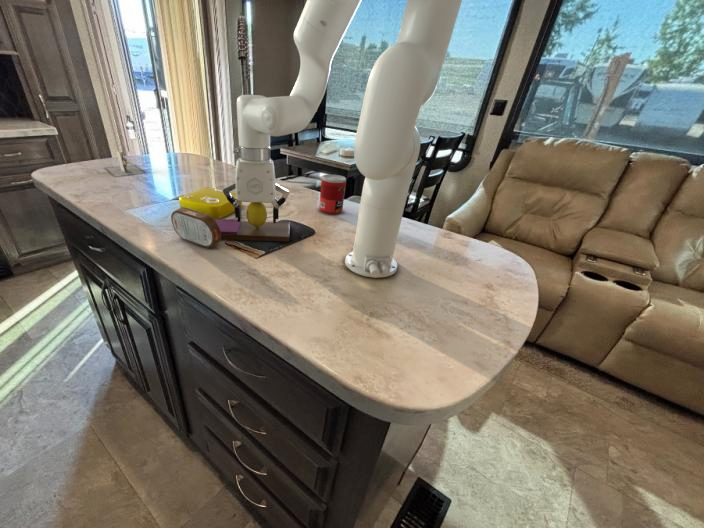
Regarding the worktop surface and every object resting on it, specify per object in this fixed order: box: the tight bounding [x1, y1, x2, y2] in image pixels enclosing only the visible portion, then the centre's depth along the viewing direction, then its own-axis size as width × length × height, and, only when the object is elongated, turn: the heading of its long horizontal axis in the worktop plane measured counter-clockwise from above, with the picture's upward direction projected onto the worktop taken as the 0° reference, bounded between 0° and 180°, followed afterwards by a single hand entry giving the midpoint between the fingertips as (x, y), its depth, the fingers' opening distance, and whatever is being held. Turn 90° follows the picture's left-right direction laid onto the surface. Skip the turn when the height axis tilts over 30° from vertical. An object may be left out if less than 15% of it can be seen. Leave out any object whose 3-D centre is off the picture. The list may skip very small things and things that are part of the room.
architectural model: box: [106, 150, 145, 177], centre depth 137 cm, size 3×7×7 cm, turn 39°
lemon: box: [246, 202, 268, 228], centre depth 89 cm, size 6×6×8 cm
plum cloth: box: [216, 218, 242, 234], centre depth 91 cm, size 9×7×1 cm
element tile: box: [178, 186, 243, 220], centre depth 105 cm, size 15×15×5 cm
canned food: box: [318, 173, 347, 216], centre depth 108 cm, size 8×8×11 cm
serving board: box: [215, 220, 290, 243], centre depth 92 cm, size 10×22×2 cm, turn 92°
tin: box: [170, 207, 222, 249], centre depth 83 cm, size 15×3×8 cm, turn 59°
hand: (257, 220), depth 90 cm, fingers open, 9 cm apart
